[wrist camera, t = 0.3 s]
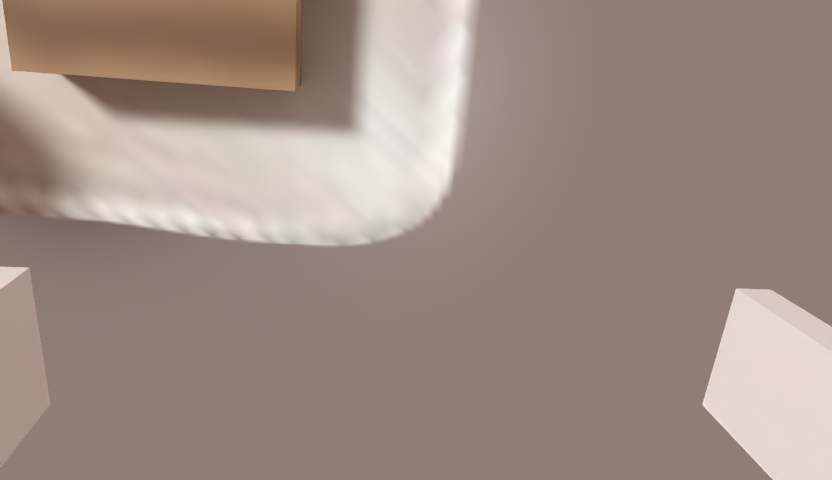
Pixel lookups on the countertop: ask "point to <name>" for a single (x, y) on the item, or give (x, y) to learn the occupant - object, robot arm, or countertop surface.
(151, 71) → the board
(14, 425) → the robot arm
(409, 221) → the countertop surface
